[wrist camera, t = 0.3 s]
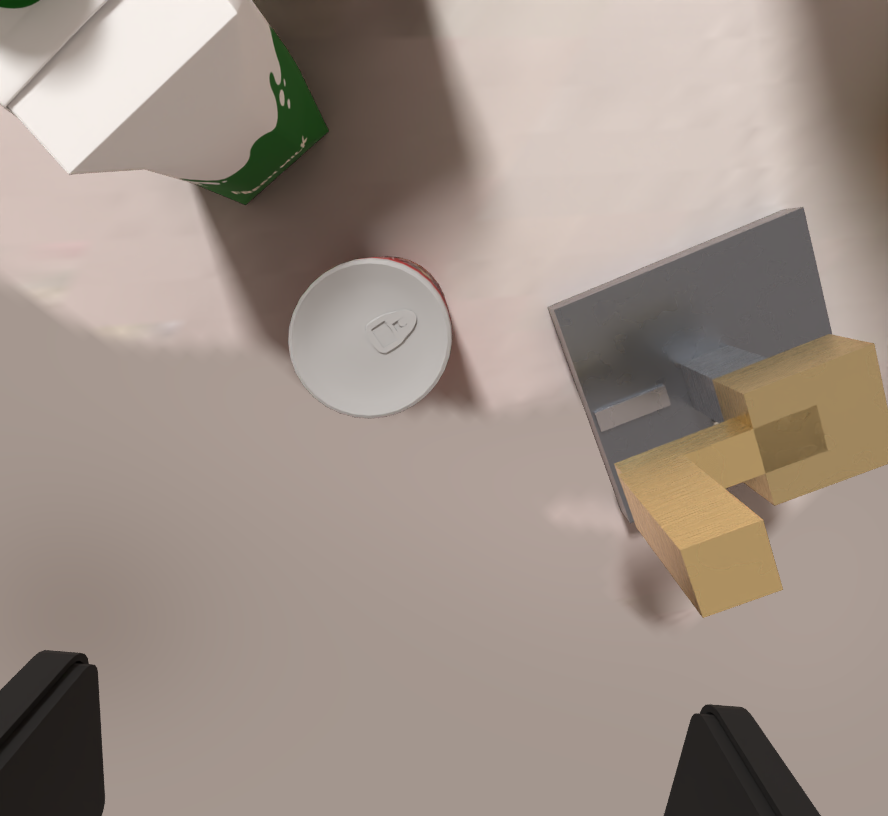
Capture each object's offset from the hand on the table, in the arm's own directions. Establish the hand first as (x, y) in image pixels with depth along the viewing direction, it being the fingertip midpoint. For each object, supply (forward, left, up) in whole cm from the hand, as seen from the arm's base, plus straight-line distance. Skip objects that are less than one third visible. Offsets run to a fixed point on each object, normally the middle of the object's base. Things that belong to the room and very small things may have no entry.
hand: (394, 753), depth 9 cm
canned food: (+1, -4, -31) cm, 31 cm away
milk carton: (+4, -18, -31) cm, 36 cm away
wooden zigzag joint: (-14, +7, -20) cm, 26 cm away
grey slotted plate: (-17, +7, -31) cm, 36 cm away
